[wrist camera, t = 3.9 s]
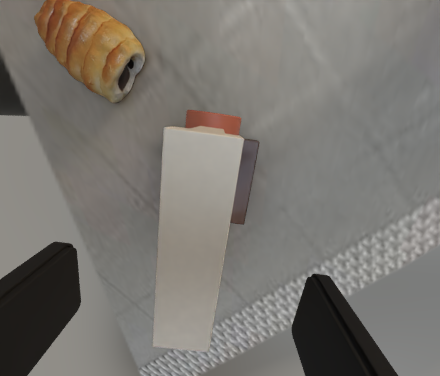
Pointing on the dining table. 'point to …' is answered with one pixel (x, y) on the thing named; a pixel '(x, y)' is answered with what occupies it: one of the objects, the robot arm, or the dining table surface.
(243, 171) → the headphone stand
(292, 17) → the dining table surface
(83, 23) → the pastry
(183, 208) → the over-ear headset
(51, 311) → the robot arm
